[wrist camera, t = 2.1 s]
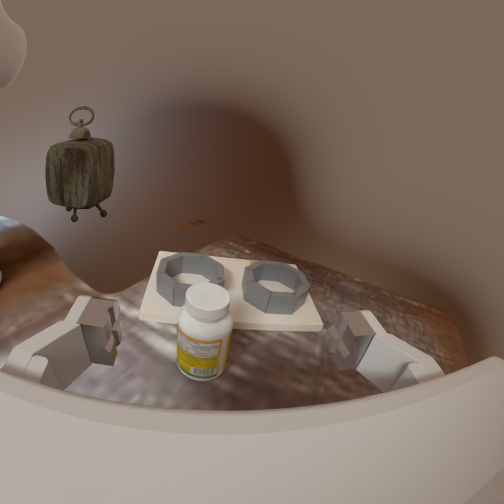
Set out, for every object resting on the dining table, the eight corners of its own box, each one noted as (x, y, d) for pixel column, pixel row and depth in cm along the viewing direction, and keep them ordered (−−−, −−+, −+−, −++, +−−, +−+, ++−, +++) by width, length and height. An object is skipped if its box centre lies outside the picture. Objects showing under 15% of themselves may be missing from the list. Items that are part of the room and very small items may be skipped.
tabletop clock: (114, 215, 58) (120, 105, 46) (94, 231, 50) (97, 105, 38) (67, 208, 57) (69, 107, 46) (45, 221, 49) (44, 109, 38)
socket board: (139, 319, 32) (137, 293, 30) (159, 257, 46) (160, 234, 44) (320, 331, 37) (330, 308, 35) (294, 270, 51) (299, 249, 49)
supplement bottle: (200, 391, 25) (207, 324, 21) (166, 360, 28) (164, 290, 23) (235, 365, 29) (250, 298, 25) (201, 339, 32) (208, 271, 27)
